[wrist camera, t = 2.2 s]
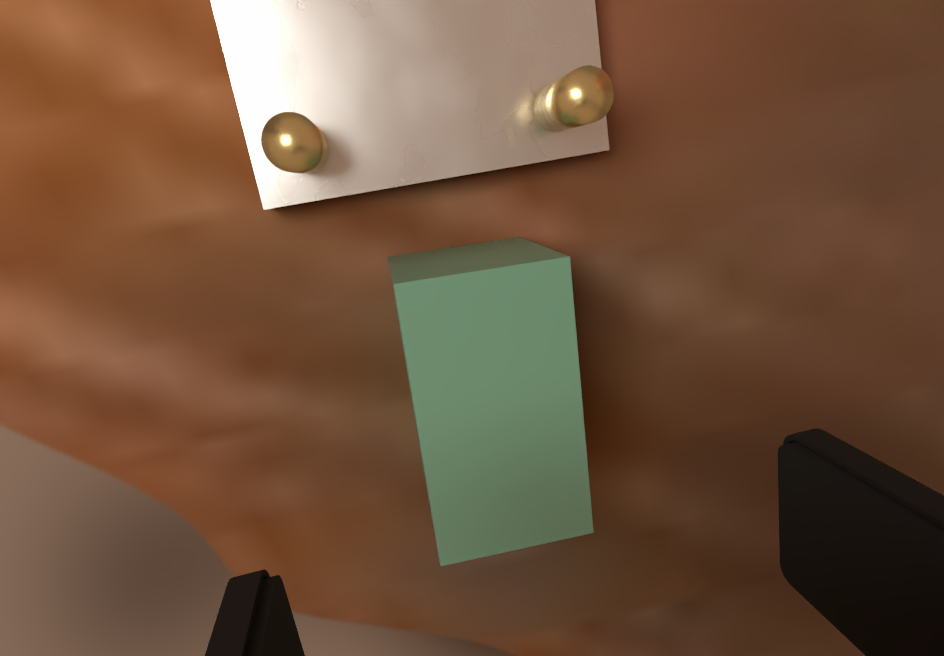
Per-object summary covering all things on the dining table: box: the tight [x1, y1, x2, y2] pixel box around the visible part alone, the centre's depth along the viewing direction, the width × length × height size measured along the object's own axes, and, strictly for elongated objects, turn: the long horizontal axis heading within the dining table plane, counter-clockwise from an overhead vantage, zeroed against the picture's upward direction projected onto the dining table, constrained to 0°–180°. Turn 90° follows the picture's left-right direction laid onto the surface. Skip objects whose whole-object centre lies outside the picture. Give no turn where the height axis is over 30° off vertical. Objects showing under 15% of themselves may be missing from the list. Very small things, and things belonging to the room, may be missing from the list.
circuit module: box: [388, 237, 594, 566], centre depth 20 cm, size 9×5×6 cm, turn 8°
